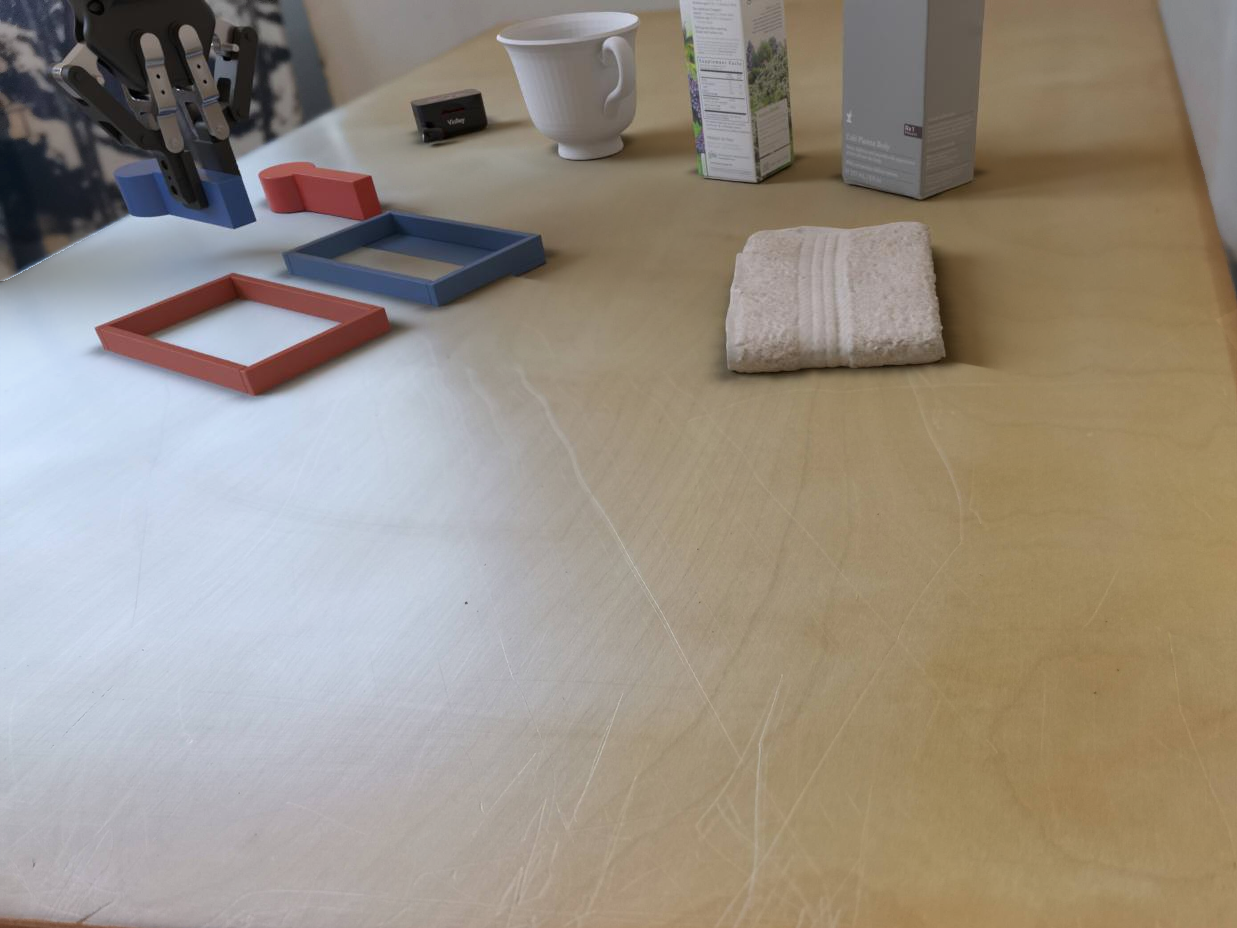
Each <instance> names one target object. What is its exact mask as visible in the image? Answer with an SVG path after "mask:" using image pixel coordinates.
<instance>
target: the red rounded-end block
mask: <svg viewBox="0 0 1237 928" xmlns="http://www.w3.org/2000/svg"><path fill="white" fill-rule="evenodd" d="M258 179H259V182H260V184H261V187H262V190H263V193H264V196H265V199H266V201H267V204H268V207H269V210H270V211H271V212H272V213H273V212H274V213H277V214H278V213H279V214H288V213H297V212H303V211H307V212H313V213H318V214H324V215H331V216H335V217H341V218H347V219H352V220H358V221H365V220H367V219H370V218H372V217H375V216H377V215H380V214H382V213H383V210H382V206H381V203H380V200H379V196H378V193H377V190H376V187H375V183H374V180H373V175H371V174H365V173H358V172H350V171H345V170H338V169H332V168H331V169H330V168H324V167H316V165H315V163H313V162H310V161H291V162H284V163H281V164H276V165H271V166H269V167H267V168H264V169H263V170H261V171H260V172H259V173H258Z"/></svg>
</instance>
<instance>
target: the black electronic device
mask: <svg viewBox="0 0 1237 928" xmlns="http://www.w3.org/2000/svg"><path fill="white" fill-rule="evenodd" d="M410 106H411V109H412V114H413V117H414V120H415V125H416V128H417V129H416V130H417V132H418V134H419V135H420V139H421V142H423V143H425V144H432V143H435V142H438V141H441V140H442V139H445V138H448V137H449V138H450V137H454V136H458V135H462V134H466V133H472V132H476V131H480V130H484V129H486V128H488V125H489V121H488V120H489V119H488V117H487V116H488V115H487V112H486V108H485V103H484V99H483V94H482V92H481V91H480V90H479V89H476V88H467V89H462V90H457V91H451V92H448V93H444V94H437V95H432V96H427V97H423V98H417V99H413V100H411V101H410Z"/></svg>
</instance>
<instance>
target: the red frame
mask: <svg viewBox="0 0 1237 928" xmlns="http://www.w3.org/2000/svg"><path fill="white" fill-rule="evenodd" d="M238 298H239V299H242V300H246V301H250V302H254V303H259V304H263V305H266V306H267V305H268V306H271V307H275V308H278V309H279V308H280V309H282V310H283V309H284V310H286V311H292V312H295V313H299V314H304V315H308V316H312V317H317V318H320V319H325V320H328V321H331V322H332V321H333V322H336V323H339V324H337V325H335V326H333V327H330V328H328V329H326V330H324V331H322V332H319V333H317V334H315V335H313V336H311V337H309V338H307V339H305V340H302V341H300V342H298V343H296V344H294V345H292V346H289V347H287V348H285V349H283V350H281V351H278V352H276V353H274V354H272V355H270V356H268V357H266V358H264V359H261V360H259V361H257V362H255V363H252V364H251V365H248V366H247V365H245V364H242V363H238V362H235V361H231V360H228V359H224V358H220V357H218V356H214V355H211V354H207V353H204V352H200V351H196V350H194V349H190V348H186V347H183V346H180V345H176V344H172V343H169V342H166V341H162V340H159V339H156V338H152V337H148V336H149V335H151V334H154V333H157V332H159V331H162V330H164V329H166V328H170V327H171V326H173V325H176V324H179V323H181V322H183V321H186V320H188V319H191V318H193V317H195V316H197V315H200V314H202V313H205V312H207V311H210V310H212V309H215V308H217V307H219V306H222V305H224V304H227V303H229V302H231V301H233V300H236V299H238ZM94 330H95V332H96V335H97V336H98V339H99V341H100V343H101V345H102V347H103V349H104V350H105V351H108V352H111V353H115V354H118V355H121V356H124V357H126V358H127V357H128V358H131V359H134V360H137V361H141V362H144V363H148V364H150V365H152V366H153V365H154V366H156V367H159V368H163V369H166V370H169V371H173V372H176V373H179V374H181V375H186V376H189V377H192V378H195V379H198V380H202V381H205V382H209V383H212V384H214V385H217V386H221V387H224V388H228V389H231V390H233V391H237V392H240V393H243V394H246V395H250V396H254V397H256V396H258V395H260V394H262V393H264V392H266V391H268V390H270V389H272V388H274V387H277V386H279V385H281V384H283V383H285V382H287V381H289V380H292V379H293V378H295V377H298V376H299V375H301V374H303V373H305V372H307V371H309V370H312V369H314V368H316V367H318V366H320V365H322V364H324V363H326V362H329V361H331V360H332V359H334V358H336V357H338V356H340V355H343V354H345V353H347V352H349V351H351V350H353V349H355V348H357V347H360V346H361V345H364V344H365V343H367V342H369V341H371V340H374V339H375V338H378V337H380V336H381V335H384V334H386V333H388V332H390V331H392V327H391V323H390V321H389V318H388V314H387V311H386V308H385V307H384V306H378V305H375V304H370V303H366V302H362V301H357V300H353V299H349V298H344V297H339V296H337V295H331V294H326V293H322V292H318V291H313V290H310V289H305V288H301V287H296V286H292V285H288V284H283V283H279V282H275V281H270V280H266V279H261V278H258V277H253V276H249V275H245V274H239V273H236V272H231V273H229V274H225V275H222V276H220V277H218V278H215V279H213V280H210V281H208V282H205V283H203V284H200V285H197V286H195V287H193V288H191V289H187V290H186V291H183V292H180V293H177V294H175V295H173V296H170V297H167V298H165V299H163V300H160V301H158V302H155V303H153V304H150V305H147V306H144V307H142V308H140V309H137V310H135V311H132V312H129V313H127V314H125V315H123V316H122V315H121V316H119V317H117V318H115V319H112V320H110V321H107V322H105V323H102V324H100V325H97V326H95V327H94Z"/></svg>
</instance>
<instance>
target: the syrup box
mask: <svg viewBox="0 0 1237 928" xmlns="http://www.w3.org/2000/svg"><path fill="white" fill-rule="evenodd" d="M678 1H679V8H680V9H679V10H680V20H681V27H682V35H683V36H682V37H683V45H684V53H685V55H684V56H685V62H686V71H687V79H688V80H687V81H688V88H689V89H688V90H689V98H690V105H691V115H692V123H693V130H694V131H693V132H694V140H695V151H696V157H697V158H696V159H697V168H698V175H699V176H700V177H701V178H704V179H705V178H706V179H715V180H722V181H732V182H733V181H734V182H746V183H755V184H756V183H759V182H761V181H764V180H765V179H767V178H768V177H770V176H772V175H775V174H776V173H778V172H780V171H782V170H783V169H786V168H787V167H789V166H791V165H792V164H794V162H795V155H794V153H795V151H794V138H793V137H794V136H793V123H792V122H793V121H792V107H791V92H790V77H789V76H790V74H789V59H788V58H789V57H788V44H787V28H786V15H785V12H786V11H785V0H678Z"/></svg>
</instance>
